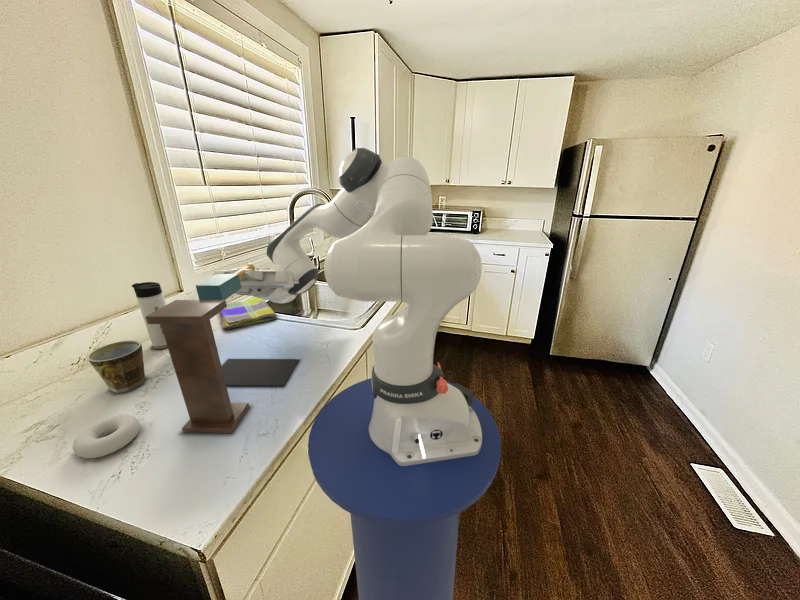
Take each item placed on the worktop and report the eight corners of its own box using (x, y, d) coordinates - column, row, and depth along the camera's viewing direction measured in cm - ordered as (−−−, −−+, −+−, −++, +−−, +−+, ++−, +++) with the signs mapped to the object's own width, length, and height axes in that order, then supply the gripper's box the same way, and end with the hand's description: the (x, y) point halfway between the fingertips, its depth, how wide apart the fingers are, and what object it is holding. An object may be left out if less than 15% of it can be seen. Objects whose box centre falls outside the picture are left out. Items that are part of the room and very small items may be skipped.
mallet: (262, 273, 85) (260, 260, 84) (223, 301, 67) (219, 285, 66) (243, 273, 85) (241, 260, 84) (199, 301, 67) (195, 285, 66)
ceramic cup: (113, 378, 84) (99, 344, 81) (158, 370, 88) (147, 337, 84) (88, 409, 73) (71, 372, 69) (140, 399, 76) (127, 362, 73)
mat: (298, 360, 91) (298, 359, 91) (283, 386, 80) (283, 385, 80) (228, 360, 92) (228, 358, 92) (203, 386, 81) (203, 384, 81)
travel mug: (157, 340, 103) (138, 280, 96) (180, 338, 104) (163, 279, 97) (147, 350, 98) (126, 287, 90) (172, 348, 99) (153, 285, 91)
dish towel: (264, 299, 136) (263, 293, 135) (278, 320, 117) (277, 313, 116) (217, 308, 127) (216, 302, 126) (224, 332, 108) (222, 325, 107)
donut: (136, 450, 62) (146, 417, 70) (130, 436, 61) (141, 404, 69) (67, 471, 58) (86, 433, 66) (59, 457, 57) (80, 420, 65)
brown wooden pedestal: (249, 406, 73) (225, 299, 64) (231, 433, 66) (201, 316, 56) (206, 406, 74) (175, 299, 64) (183, 432, 66) (145, 316, 57)
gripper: (300, 294, 92) (281, 284, 78) (229, 294, 92) (198, 285, 79) (301, 272, 93) (282, 259, 79) (231, 272, 93) (200, 260, 80)
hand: (240, 272), depth 79 cm, fingers closed on mallet, 2 cm apart
